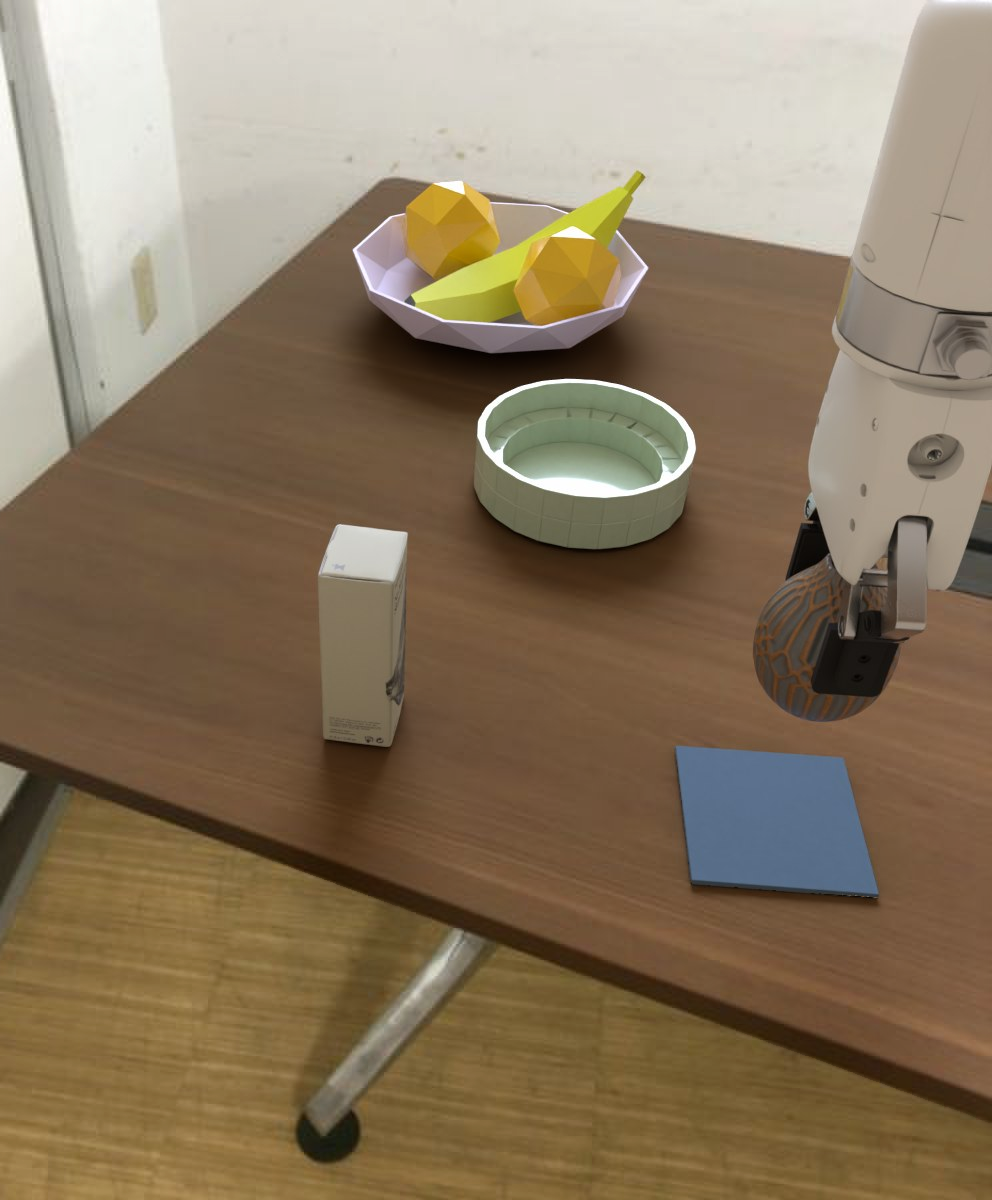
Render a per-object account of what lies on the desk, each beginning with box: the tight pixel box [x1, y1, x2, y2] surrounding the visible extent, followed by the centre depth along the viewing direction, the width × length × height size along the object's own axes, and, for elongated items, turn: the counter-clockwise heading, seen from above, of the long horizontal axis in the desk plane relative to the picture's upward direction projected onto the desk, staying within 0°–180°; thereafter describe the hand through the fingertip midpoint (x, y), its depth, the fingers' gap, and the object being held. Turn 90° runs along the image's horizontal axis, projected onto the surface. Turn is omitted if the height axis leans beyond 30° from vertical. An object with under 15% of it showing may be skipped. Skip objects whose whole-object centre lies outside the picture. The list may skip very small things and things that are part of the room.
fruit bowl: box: [352, 169, 649, 354], centre depth 114 cm, size 28×27×11 cm
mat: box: [674, 745, 880, 898], centre depth 71 cm, size 10×10×1 cm
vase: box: [752, 553, 902, 723], centre depth 62 cm, size 7×7×9 cm
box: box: [317, 523, 409, 748], centre depth 73 cm, size 5×4×13 cm
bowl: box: [473, 378, 697, 550], centre depth 95 cm, size 16×16×5 cm
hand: (829, 635), depth 62 cm, fingers closed on vase, 6 cm apart
